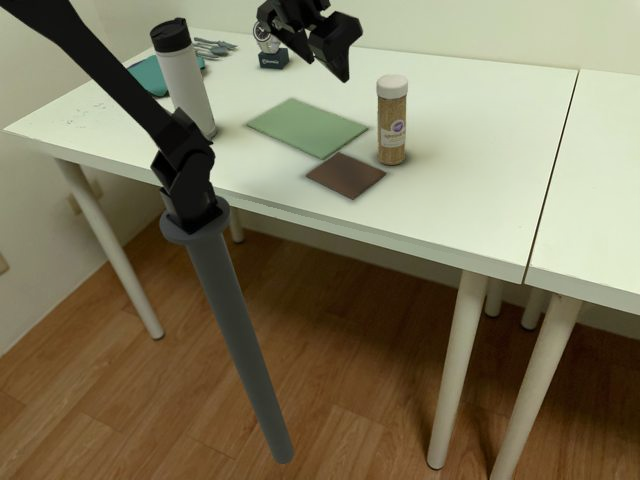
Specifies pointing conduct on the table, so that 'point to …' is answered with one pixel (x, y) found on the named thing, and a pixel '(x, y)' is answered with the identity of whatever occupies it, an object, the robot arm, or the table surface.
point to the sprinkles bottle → (391, 118)
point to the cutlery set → (152, 75)
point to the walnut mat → (346, 175)
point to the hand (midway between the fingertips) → (328, 71)
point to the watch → (269, 49)
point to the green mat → (307, 128)
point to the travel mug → (183, 72)
